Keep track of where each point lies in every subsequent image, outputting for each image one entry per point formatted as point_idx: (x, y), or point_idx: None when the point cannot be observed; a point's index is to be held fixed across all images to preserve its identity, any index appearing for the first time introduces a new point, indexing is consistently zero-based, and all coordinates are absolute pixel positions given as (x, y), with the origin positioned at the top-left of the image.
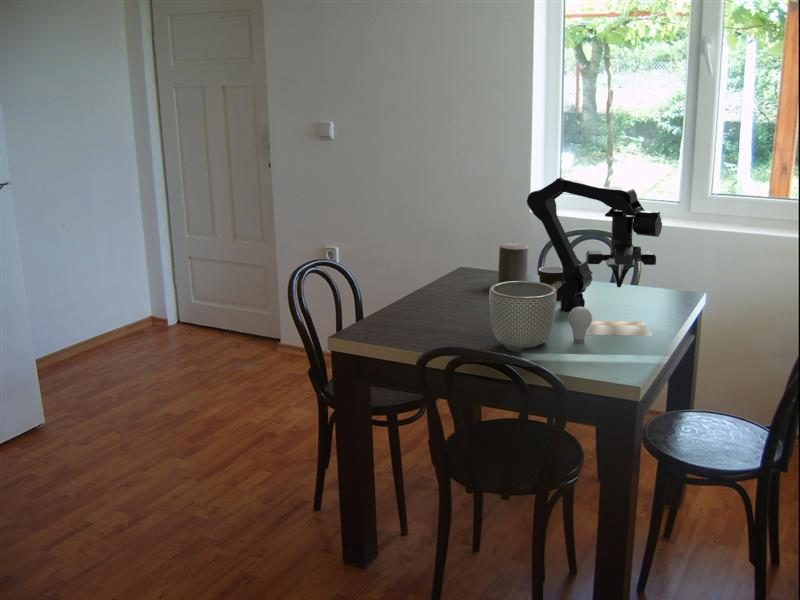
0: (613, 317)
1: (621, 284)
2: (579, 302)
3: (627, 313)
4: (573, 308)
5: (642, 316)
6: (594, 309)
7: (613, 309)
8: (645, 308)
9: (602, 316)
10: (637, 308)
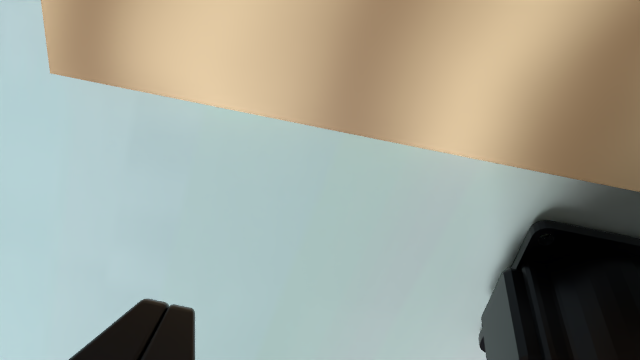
0: (275, 177)
1: (106, 330)
2: (579, 345)
3: (144, 242)
4: (637, 296)
5: (39, 162)
6: (356, 352)
7: (225, 329)
8: (8, 307)
9: (357, 214)
10: (60, 316)
